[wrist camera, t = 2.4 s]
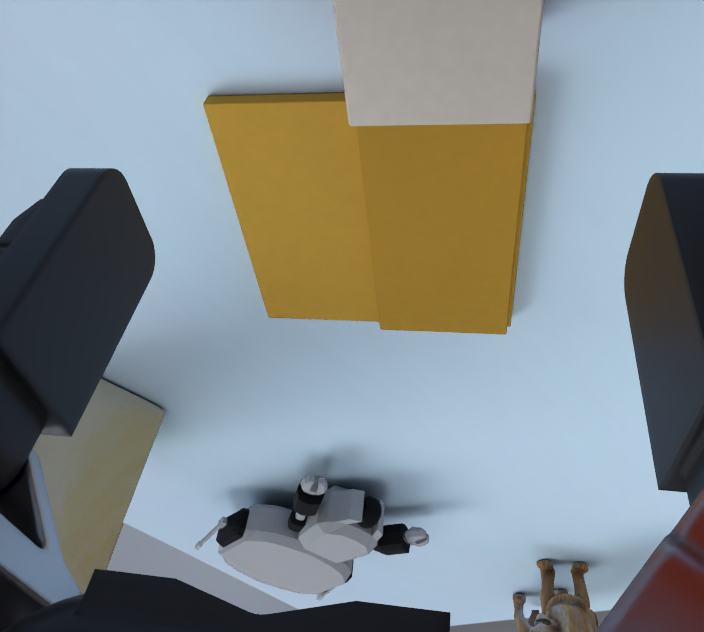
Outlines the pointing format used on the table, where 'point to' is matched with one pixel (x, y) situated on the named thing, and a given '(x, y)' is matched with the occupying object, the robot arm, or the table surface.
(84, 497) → the toy refrigerator
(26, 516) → the robot arm
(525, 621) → the lion figurine
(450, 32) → the toy cooler box
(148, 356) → the table surface
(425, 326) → the cloth
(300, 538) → the robot toy
